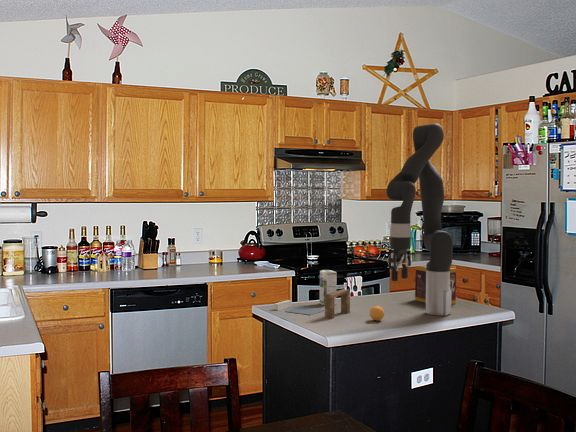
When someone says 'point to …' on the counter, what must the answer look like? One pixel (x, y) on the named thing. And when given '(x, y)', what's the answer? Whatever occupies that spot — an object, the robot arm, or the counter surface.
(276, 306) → the beige thin bar
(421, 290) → the supplement box
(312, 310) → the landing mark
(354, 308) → the counter surface
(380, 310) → the ball
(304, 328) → the counter surface
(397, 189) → the robot arm
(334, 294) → the bridge
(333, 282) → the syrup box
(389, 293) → the counter surface
